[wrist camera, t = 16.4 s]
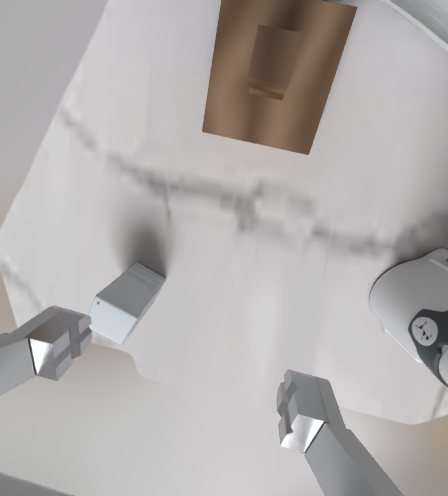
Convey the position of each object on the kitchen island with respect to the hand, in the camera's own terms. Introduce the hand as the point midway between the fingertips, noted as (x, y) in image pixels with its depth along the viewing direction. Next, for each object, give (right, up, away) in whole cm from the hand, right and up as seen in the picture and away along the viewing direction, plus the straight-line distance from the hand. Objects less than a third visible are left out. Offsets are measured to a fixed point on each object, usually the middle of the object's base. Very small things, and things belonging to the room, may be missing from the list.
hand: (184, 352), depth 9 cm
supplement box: (-15, -3, +37) cm, 40 cm away
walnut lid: (+7, +24, +17) cm, 30 cm away
